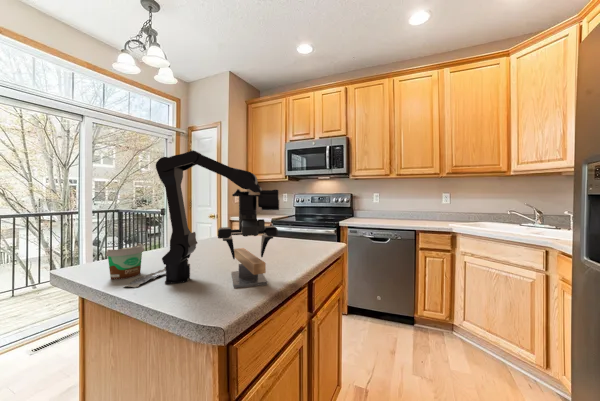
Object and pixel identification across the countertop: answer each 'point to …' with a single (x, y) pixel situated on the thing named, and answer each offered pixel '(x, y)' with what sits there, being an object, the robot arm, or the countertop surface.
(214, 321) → the countertop surface
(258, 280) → the ridge stand
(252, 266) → the oak rod
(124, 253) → the food container
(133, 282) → the driftwood
